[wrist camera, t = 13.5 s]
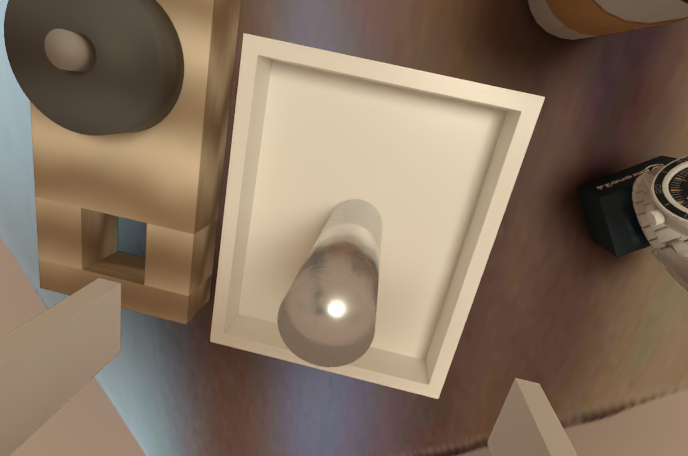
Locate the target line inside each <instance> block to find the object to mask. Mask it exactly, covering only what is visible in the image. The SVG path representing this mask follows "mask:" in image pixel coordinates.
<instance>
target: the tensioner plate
mask: <svg viewBox="0 0 688 456" xmlns="http://www.w3.org/2000/svg"><path fill="white" fill-rule="evenodd" d="M240 4H241V0H9V1H8V4H7V8H6V13H5V21H4V38H5V46H6V51H7V56H8V60H9V62H10V65H11V68H12V71H13V73H14V75H15V77H16V80H17V82H18V83H19V85H20V87H21V88H22V90H23V92H24V93H25V94H26V96H27V97H28V99H29V100H30V104H31V123H32V142H33V160H34V179H35V198H36V216H37V235H38V254H39V272H40V288H43V289H47V290H51V291H55V292H59V293H63V294H67V295H72V294H74V293H75V292H77V291H79V290H80V289H82V288H83V287H85V286H87V285H88V284H90V283H92V282H93V281H95V280H96V279H98V278H101V279H105V280H109V281H114V282H118V283H121V308H123V309H127V310H131V311H135V312H139V313H143V314H147V315H151V316H155V317H159V318H163V319H167V320H171V321H175V322H179V323H183V324H187V323H188V322H189V321H190V320H191V319H192V318H193V317H194V316H195V315H196V313H197V312H198V311H199V310H200V309H201V308H202V307H203V306H204V305H205V304H206V303H207V302H208V301H209V299H210V289H211V280H212V270H213V261H214V251H215V242H216V232H217V223H218V213H219V204H220V194H221V185H222V175H223V166H224V156H225V147H226V137H227V128H228V118H229V109H230V99H231V90H232V80H233V71H234V61H235V52H236V42H237V33H238V23H239V14H240ZM118 217H123V218H127V219H131V220H135V221H139V222H143V223H147V235H146V258H144V257H140V256H136V255H131V254H127V253H123V252H119V251H117V240H118Z"/></svg>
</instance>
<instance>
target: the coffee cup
mask: <svg viewBox="0 0 688 456" xmlns="http://www.w3.org/2000/svg"><path fill="white" fill-rule="evenodd" d="M528 3H529V7H530V11H531V13H532V15H533V17H534V18H535V20H536V22H537V23H538V24H539V25H540V26H541V27H542V28H543V29H544V30H545V31H546V32H548V33H550V34H552V35H554V36H556V37H558V38H563V39H570V40H575V39H583V38H589V37H594V36H601V35H609V34H615V33H620V32H625V31H630V30H635V29H640V28H645V27H650V26H655V25H660V24H665V23H670V22H675V21H680V20H683V19H686V18H688V0H528Z"/></svg>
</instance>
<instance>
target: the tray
mask: <svg viewBox="0 0 688 456" xmlns="http://www.w3.org/2000/svg"><path fill="white" fill-rule="evenodd" d="M544 99H545V97H542V96H538V95H533V94H528V93H523V92H519V91H514V90H509V89H505V88H500V87H495V86H490V85H486V84H481V83H476V82H472V81H467V80H462V79H457V78H453V77H448V76H443V75H439V74H434V73H429V72H424V71H420V70H415V69H410V68H406V67H401V66H396V65H391V64H387V63H382V62H377V61H373V60H368V59H363V58H358V57H354V56H349V55H344V54H339V53H335V52H330V51H325V50H321V49H316V48H311V47H306V46H302V45H297V44H292V43H288V42H283V41H278V40H273V39H269V38H264V37H259V36H255V35H250V34H245V33H244V36H243V45H242V54H241V63H240V72H239V81H238V90H237V99H236V109H235V118H234V127H233V136H232V145H231V154H230V163H229V172H228V181H227V190H226V199H225V209H224V218H223V227H222V236H221V245H220V254H219V263H218V272H217V281H216V290H215V300H214V309H213V318H212V327H211V336H210V342H214V343H218V344H222V345H226V346H230V347H234V348H238V349H242V350H246V351H250V352H254V353H258V354H262V355H266V356H270V357H274V358H278V359H281V360H285V361H289V362H293V363H297V364H301V365H305V366H309V367H313V368H317V369H321V370H325V371H329V372H333V373H337V374H341V375H345V376H349V377H353V378H357V379H361V380H365V381H369V382H373V383H377V384H381V385H385V386H389V387H393V388H397V389H401V390H405V391H409V392H412V393H416V394H420V395H424V396H428V397H432V398H436V399H438V398H439V396H440V393H441V390H442V387H443V384H444V381H445V379H446V376H447V373H448V370H449V367H450V365H451V362H452V359H453V356H454V353H455V350H456V348H457V345H458V342H459V339H460V336H461V333H462V331H463V328H464V325H465V322H466V319H467V316H468V314H469V311H470V308H471V305H472V302H473V300H474V297H475V294H476V291H477V288H478V285H479V283H480V280H481V277H482V274H483V271H484V268H485V266H486V263H487V260H488V257H489V254H490V251H491V249H492V246H493V243H494V240H495V237H496V235H497V232H498V229H499V226H500V223H501V220H502V218H503V215H504V212H505V209H506V206H507V203H508V201H509V198H510V195H511V192H512V189H513V186H514V184H515V181H516V178H517V175H518V172H519V170H520V167H521V164H522V161H523V158H524V155H525V153H526V150H527V147H528V144H529V141H530V138H531V136H532V133H533V130H534V127H535V124H536V121H537V119H538V116H539V113H540V110H541V107H542V105H543V102H544ZM350 199H361V200H364V201H367V202H369V203H371V204H372V205H373V206H374V207H375V208H376V209H377V210H378V211H379V213H380V215H381V218H382V222H383V229H382V242H381V256H380V269H379V283H378V296H377V310H376V324H375V334H374V338H373V341H372V343H371V345H370V347H369V349H368V350H367V351H366V353H365V354H364V355H363V356H361V357H360V358H359V359H357V360H356V361H354V362H352V363H350V364H347V365H344V366H339V367H321V366H316V365H313V364H310V363H308V362H306V361H304V360H302V359H300V358H299V357H297V356H296V355H295V354H294V353H293V352H291V351H290V349H289V348H288V347H287V346H286V345H285V343H284V341H283V340H282V338H281V336H280V333H279V329H278V322H277V317H278V311H279V307H280V305H281V303H282V301H283V299H284V297H285V296H286V294H287V292H288V290H289V289H290V287H291V285H292V283H293V281H294V280H295V278H296V276H297V274H298V273H299V271H300V269H301V267H302V265H303V264H304V262H305V260H306V258H307V257H308V255H309V253H310V251H311V249H312V248H313V246H314V244H315V242H316V241H317V239H318V237H319V235H320V233H321V232H322V230H323V228H324V226H325V225H326V223H327V221H328V219H329V217H330V216H331V214H332V212H333V210H334V209H335V208H336V207H337V206H338V205H339V204H340V203H342V202H344V201H346V200H350Z"/></svg>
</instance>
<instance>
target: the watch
mask: <svg viewBox="0 0 688 456" xmlns="http://www.w3.org/2000/svg"><path fill="white" fill-rule="evenodd" d="M577 190H578V194H579V197H580V200H581V203H582V206H583V210H584V213H585V216H586V219H587V222H588V226H589V229H590V232H591V235H592V238H593V241H594V242H595V243H597V244H598V245H600V246H601V247H603V248H604V249H606V250H607V251H609V252H610V253H612V254H613V255H615V256H616V257H618V256H621V255H624V254H627V253H630V252H633V251H636V250H639V249H642V248H645V247H648V246H652V248H653V249H654V251H652V253H653V255H654V256H655V257H656V258H657V260H658V261H659V264H660V265H661V266H662V267H663V268H664V269H666V270H667V271H668V272H669V273H670V274H671V276H672V277H673V278H674V279H675V280H676V281H677V282H678V283H679V284H680V285H681V286H683V287H684V288H685V289H686V290H687V291H688V156H685V157H682V158H679V159H677V158H672V157H666V156H659V157H657V158H654V159H651V160H649V161H646V162H644V163H641V164H638V165H636V166H633V167H630V168H628V169H625V170H623V171H620V172H617V173H615V174H612V175H609V176H607V177H604V178H602V179H599V180H596V181H594V182H591V183H588V184H586V185H583V186H580V187H578V188H577ZM676 239H677V240H676ZM673 240H674V241H673ZM670 241H671V242H670ZM667 242H668V243H667Z"/></svg>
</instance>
